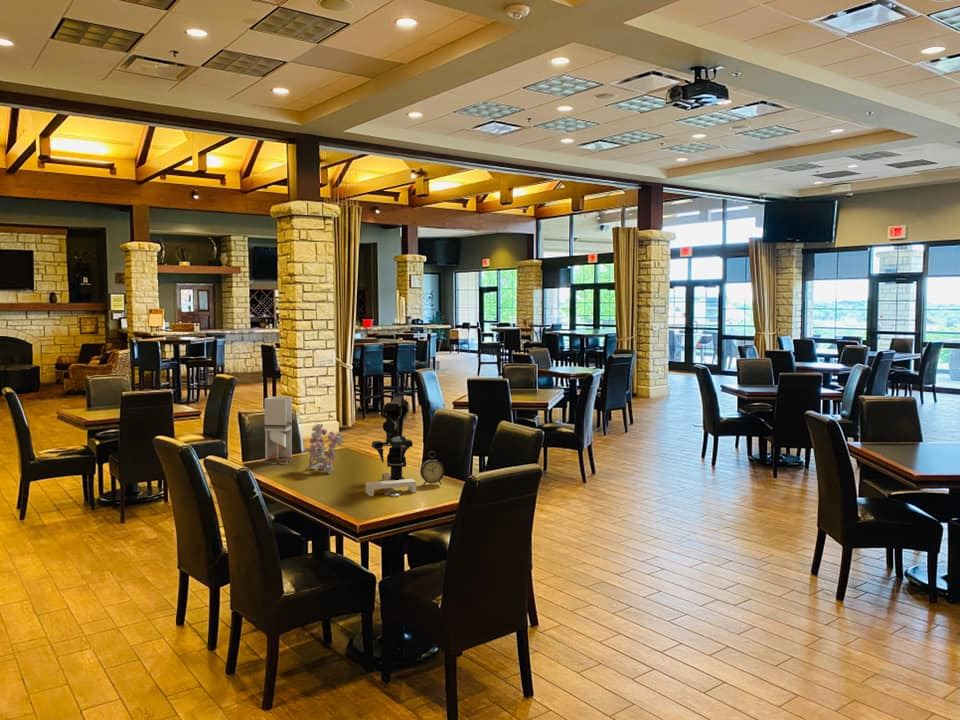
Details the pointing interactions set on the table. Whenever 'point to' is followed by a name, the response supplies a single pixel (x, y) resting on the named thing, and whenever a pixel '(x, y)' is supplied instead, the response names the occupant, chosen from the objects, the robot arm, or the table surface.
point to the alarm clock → (432, 471)
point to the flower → (322, 448)
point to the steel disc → (395, 494)
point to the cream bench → (390, 485)
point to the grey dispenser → (278, 429)
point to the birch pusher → (389, 490)
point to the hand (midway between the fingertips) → (392, 461)
